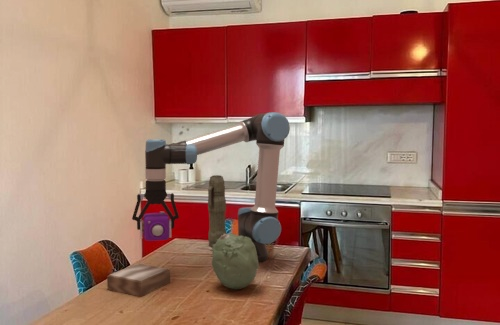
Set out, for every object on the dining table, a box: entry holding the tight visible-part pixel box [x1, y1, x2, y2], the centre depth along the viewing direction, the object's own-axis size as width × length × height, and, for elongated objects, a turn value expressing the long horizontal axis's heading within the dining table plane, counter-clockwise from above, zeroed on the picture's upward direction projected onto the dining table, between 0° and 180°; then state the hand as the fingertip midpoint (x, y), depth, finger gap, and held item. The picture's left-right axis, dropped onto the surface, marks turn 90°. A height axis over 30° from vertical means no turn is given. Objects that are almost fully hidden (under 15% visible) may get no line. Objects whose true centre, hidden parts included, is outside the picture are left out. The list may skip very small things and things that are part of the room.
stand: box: [106, 262, 171, 298], centre depth 162 cm, size 16×16×5 cm
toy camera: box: [142, 211, 170, 242], centre depth 167 cm, size 11×14×10 cm
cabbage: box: [209, 233, 260, 290], centre depth 159 cm, size 16×19×20 cm
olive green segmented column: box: [207, 174, 227, 248], centre depth 217 cm, size 9×12×35 cm
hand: (155, 237), depth 167 cm, fingers closed on toy camera, 10 cm apart
